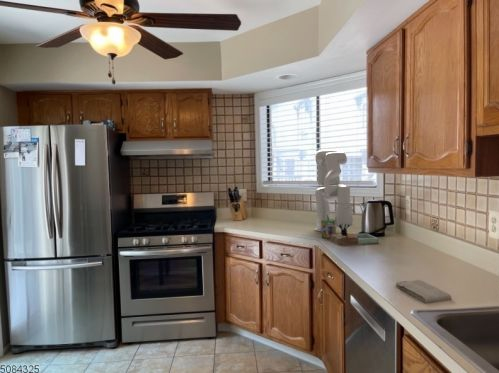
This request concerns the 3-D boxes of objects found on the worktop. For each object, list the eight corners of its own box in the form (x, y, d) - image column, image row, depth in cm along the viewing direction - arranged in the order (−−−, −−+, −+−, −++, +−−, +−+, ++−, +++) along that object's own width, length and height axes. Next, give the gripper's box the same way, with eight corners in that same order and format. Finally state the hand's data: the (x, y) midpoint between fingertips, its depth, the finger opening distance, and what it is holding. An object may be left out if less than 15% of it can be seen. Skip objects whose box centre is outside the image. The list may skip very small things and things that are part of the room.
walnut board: (330, 240, 223) (330, 233, 223) (347, 239, 225) (347, 232, 225) (339, 245, 208) (339, 238, 208) (358, 244, 210) (358, 237, 210)
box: (347, 239, 225) (347, 234, 225) (366, 237, 227) (366, 233, 226) (358, 244, 210) (358, 239, 210) (378, 243, 212) (378, 238, 212)
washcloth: (418, 284, 142) (418, 277, 142) (453, 301, 124) (453, 293, 124) (393, 287, 139) (393, 280, 139) (425, 305, 122) (425, 296, 122)
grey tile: (349, 232, 222) (353, 231, 222) (349, 239, 222) (353, 238, 222) (353, 233, 217) (356, 233, 218) (353, 240, 218) (356, 240, 218)
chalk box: (335, 238, 228) (335, 216, 227) (321, 237, 231) (321, 215, 230) (336, 235, 236) (336, 214, 235) (323, 235, 239) (322, 213, 238)
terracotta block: (345, 236, 215) (345, 232, 215) (352, 235, 216) (352, 231, 216) (348, 237, 211) (348, 233, 211) (355, 237, 211) (355, 233, 211)
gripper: (352, 204, 216) (352, 233, 217) (329, 205, 214) (330, 234, 216) (358, 206, 209) (358, 236, 210) (334, 207, 207) (334, 237, 208)
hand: (344, 235), depth 213 cm, fingers closed
